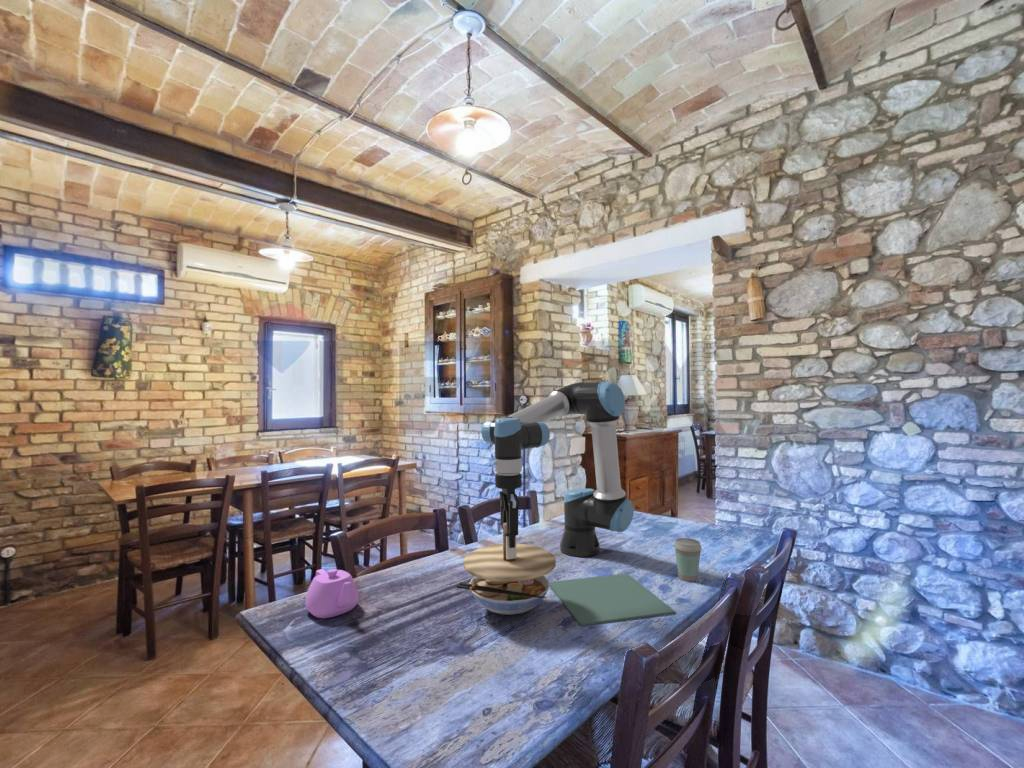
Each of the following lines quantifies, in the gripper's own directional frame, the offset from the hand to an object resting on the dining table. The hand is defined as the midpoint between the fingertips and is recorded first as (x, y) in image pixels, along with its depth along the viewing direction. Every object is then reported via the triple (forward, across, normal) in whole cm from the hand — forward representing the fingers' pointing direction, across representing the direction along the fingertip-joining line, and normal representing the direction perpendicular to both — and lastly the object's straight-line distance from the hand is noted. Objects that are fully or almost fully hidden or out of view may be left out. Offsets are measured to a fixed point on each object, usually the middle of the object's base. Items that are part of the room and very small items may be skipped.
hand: (509, 555), depth 138 cm
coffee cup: (+16, -7, +61) cm, 64 cm away
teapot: (+15, -12, -49) cm, 52 cm away
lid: (+2, 0, 0) cm, 2 cm away
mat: (+15, 0, +29) cm, 33 cm away
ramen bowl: (+15, 0, 0) cm, 15 cm away
